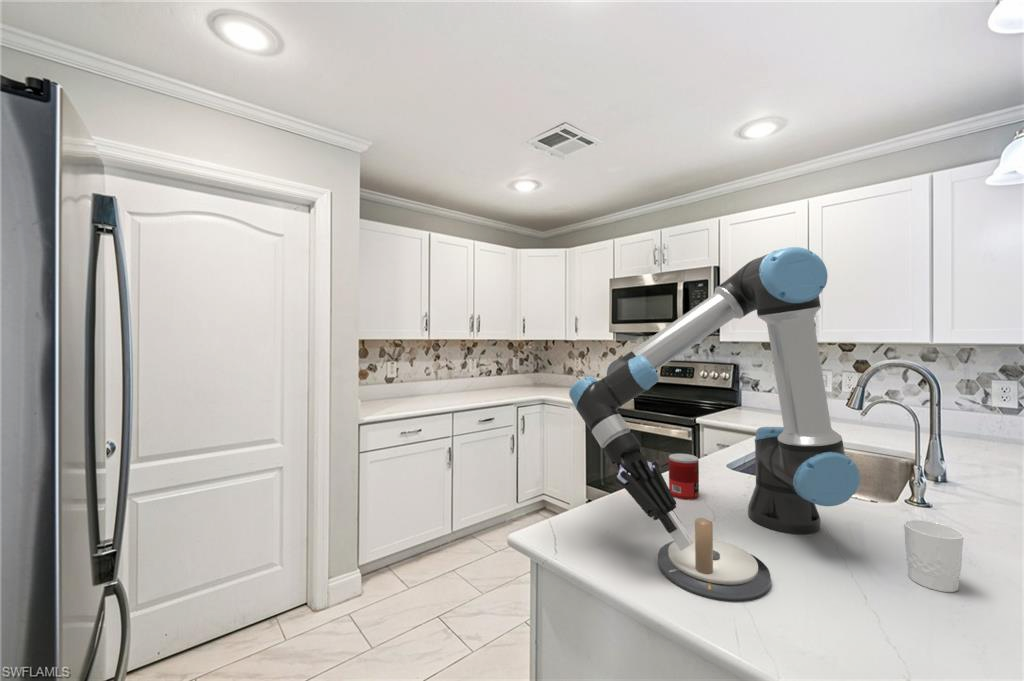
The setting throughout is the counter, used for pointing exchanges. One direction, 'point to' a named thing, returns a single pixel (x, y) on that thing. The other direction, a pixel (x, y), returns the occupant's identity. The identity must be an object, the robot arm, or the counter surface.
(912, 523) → the white cup
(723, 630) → the counter surface
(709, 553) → the dial
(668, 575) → the dial base
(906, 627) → the counter surface
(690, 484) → the canned food
